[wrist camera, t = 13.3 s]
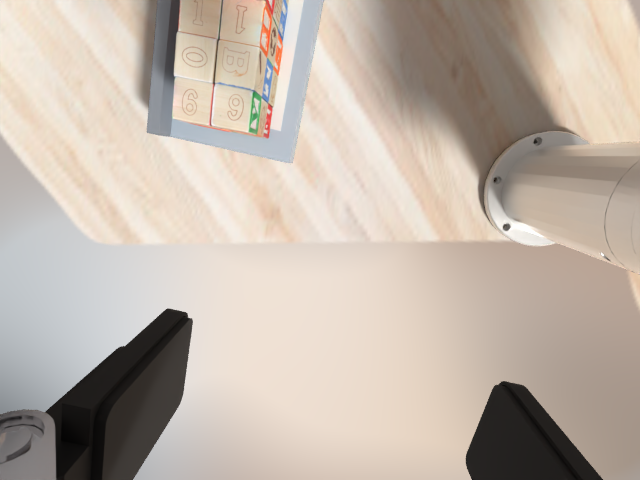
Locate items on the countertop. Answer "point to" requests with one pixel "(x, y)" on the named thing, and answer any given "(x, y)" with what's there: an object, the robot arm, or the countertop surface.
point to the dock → (288, 94)
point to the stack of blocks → (228, 63)
